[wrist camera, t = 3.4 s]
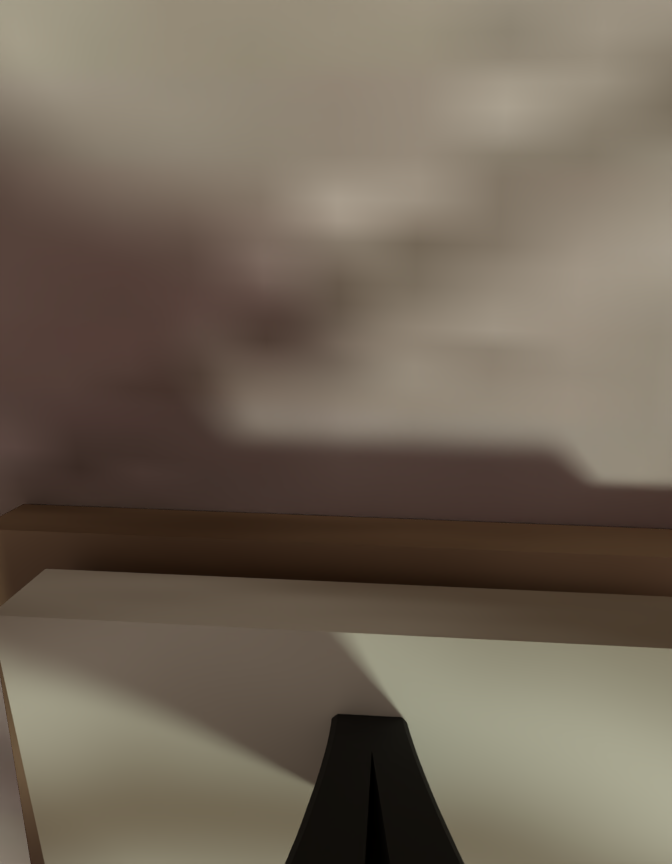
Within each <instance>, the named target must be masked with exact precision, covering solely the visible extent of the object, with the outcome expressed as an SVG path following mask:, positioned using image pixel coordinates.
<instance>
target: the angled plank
mask: <svg viewBox="0 0 672 864" xmlns="http://www.w3.org/2000/svg"><path fill="white" fill-rule="evenodd" d="M0 662H1V666H2V671H3V676H4V680H5V685H6V689H7V694H8V698H9V703H10V707H11V712H12V717H13V721H14V726H15V730H16V735H17V739H18V744H19V748H20V753H21V758H22V762H23V767H24V771H25V776H26V780H27V785H28V789H29V794H30V799H31V803H32V808H33V812H34V817H35V821H36V826H37V830H38V835H39V840H40V844H41V849H42V853H43V858H44V862H45V864H285V862H286V860H287V857H288V855H289V852H290V850H291V848H292V845H293V843H294V841H295V838H296V836H297V833H298V830H299V828H300V825H301V822H302V820H303V817H304V814H305V811H306V808H307V806H308V803H309V800H310V797H311V794H312V792H313V789H314V786H315V783H316V780H317V777H318V773H319V770H320V767H321V764H322V760H323V757H324V753H325V750H326V746H327V741H328V737H329V732H330V727H331V719H332V718H333V717H334V716H335V715H337V714H352V715H370V716H389V717H402V718H403V719H404V720H405V721H406V722H407V724H408V728H409V731H410V734H411V737H412V740H413V744H414V746H415V749H416V752H417V755H418V758H419V760H420V763H421V766H422V768H423V771H424V773H425V776H426V778H427V781H428V783H429V786H430V788H431V791H432V793H433V796H434V798H435V800H436V803H437V805H438V807H439V810H440V812H441V814H442V816H443V818H444V821H445V823H446V825H447V827H448V829H449V832H450V834H451V836H452V838H453V840H454V843H455V845H456V847H457V849H458V851H459V853H460V855H461V857H462V860H463V862H464V864H672V597H665V596H643V595H621V594H598V593H576V592H554V591H531V590H509V589H487V588H464V587H442V586H419V585H397V584H375V583H352V582H330V581H308V580H285V579H263V578H241V577H218V576H196V575H174V574H151V573H129V572H107V571H84V570H62V569H45V570H43V571H42V572H41V573H40V574H39V575H37V576H36V577H35V578H34V579H33V580H32V581H30V582H29V583H28V584H27V585H26V586H24V587H23V588H22V589H21V590H20V591H18V592H17V593H16V594H15V595H14V596H12V597H11V598H10V599H9V600H8V601H6V602H5V603H4V604H3V605H2V606H0Z"/></svg>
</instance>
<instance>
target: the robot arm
mask: <svg viewBox="0 0 672 864" xmlns="http://www.w3.org/2000/svg"><path fill="white" fill-rule="evenodd" d="M285 864H464V862H463V860H462V857H461V855H460V853H459V851H458V849H457V847H456V845H455V843H454V840H453V838H452V836H451V834H450V832H449V829H448V827H447V825H446V823H445V821H444V818H443V816H442V814H441V812H440V810H439V807H438V805H437V803H436V800H435V798H434V796H433V793H432V791H431V788H430V786H429V783H428V781H427V778H426V776H425V773H424V771H423V768H422V766H421V763H420V760H419V758H418V755H417V752H416V749H415V746H414V744H413V740H412V737H411V734H410V731H409V728H408V724H407V722H406V721H405V720H404V719H403V718H402V717H389V716H370V715H352V714H337V715H335V716H334V717H333V718H332V719H331V727H330V732H329V737H328V741H327V746H326V750H325V753H324V757H323V760H322V764H321V767H320V770H319V773H318V777H317V780H316V783H315V786H314V789H313V792H312V794H311V797H310V800H309V803H308V806H307V808H306V811H305V814H304V817H303V820H302V822H301V825H300V828H299V830H298V833H297V836H296V838H295V841H294V843H293V845H292V848H291V850H290V852H289V855H288V857H287V860H286V862H285Z"/></svg>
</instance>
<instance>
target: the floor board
mask: <svg viewBox="0 0 672 864" xmlns="http://www.w3.org/2000/svg"><path fill="white" fill-rule="evenodd" d="M45 569H62V570H84V571H107V572H129V573H151V574H174V575H196V576H218V577H241V578H263V579H285V580H308V581H330V582H352V583H375V584H397V585H419V586H442V587H464V588H487V589H509V590H531V591H554V592H576V593H598V594H621V595H643V596H665V597H672V529H653V528H627V527H601V526H575V525H550V524H524V523H498V522H472V521H446V520H420V519H395V518H369V517H343V516H317V515H291V514H266V513H240V512H214V511H188V510H162V509H137V508H111V507H85V506H59V505H33V504H23V505H21V506H19V507H17V508H15V509H13V510H11V511H10V512H8V513H6V514H4V515H2V516H0V606H2V605H3V604H4V603H5V602H6V601H8V600H9V599H10V598H11V597H12V596H14V595H15V594H16V593H17V592H18V591H20V590H21V589H22V588H23V587H24V586H26V585H27V584H28V583H29V582H30V581H32V580H33V579H34V578H35V577H36V576H37V575H39V574H40V573H41V572H42V571H43V570H45ZM0 678H1V684H2V690H3V696H4V703H5V709H6V715H7V721H8V727H9V733H10V739H11V745H12V751H13V757H14V763H15V769H16V776H17V782H18V788H19V794H20V800H21V806H22V812H23V818H24V824H25V830H26V836H27V843H28V849H29V855H30V861H31V864H45V862H44V858H43V853H42V849H41V844H40V840H39V835H38V830H37V826H36V821H35V817H34V812H33V808H32V803H31V799H30V794H29V789H28V785H27V780H26V776H25V771H24V767H23V762H22V758H21V753H20V748H19V744H18V739H17V735H16V730H15V726H14V721H13V717H12V712H11V707H10V703H9V698H8V694H7V689H6V685H5V680H4V676H3V671H2V666H1V662H0Z"/></svg>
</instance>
